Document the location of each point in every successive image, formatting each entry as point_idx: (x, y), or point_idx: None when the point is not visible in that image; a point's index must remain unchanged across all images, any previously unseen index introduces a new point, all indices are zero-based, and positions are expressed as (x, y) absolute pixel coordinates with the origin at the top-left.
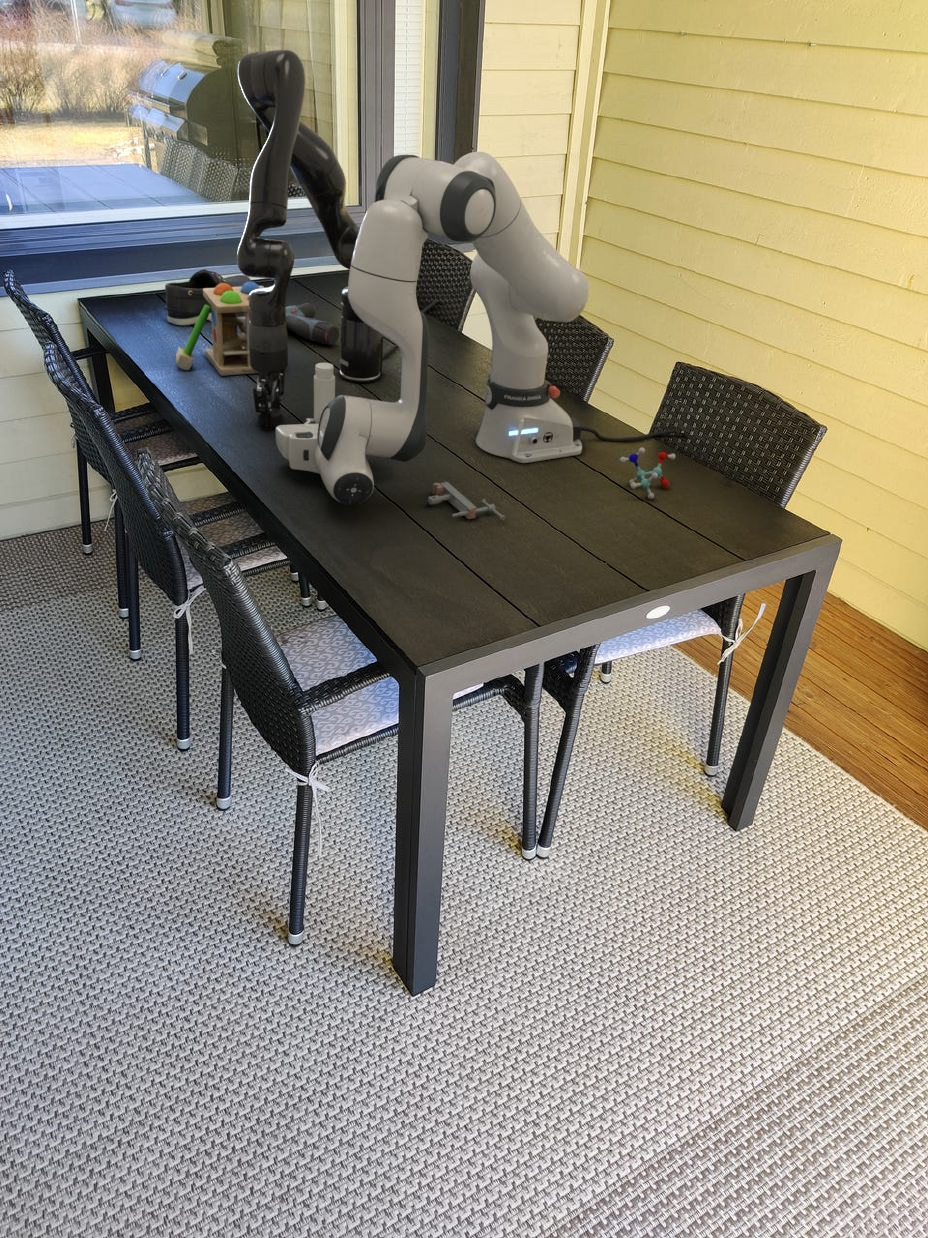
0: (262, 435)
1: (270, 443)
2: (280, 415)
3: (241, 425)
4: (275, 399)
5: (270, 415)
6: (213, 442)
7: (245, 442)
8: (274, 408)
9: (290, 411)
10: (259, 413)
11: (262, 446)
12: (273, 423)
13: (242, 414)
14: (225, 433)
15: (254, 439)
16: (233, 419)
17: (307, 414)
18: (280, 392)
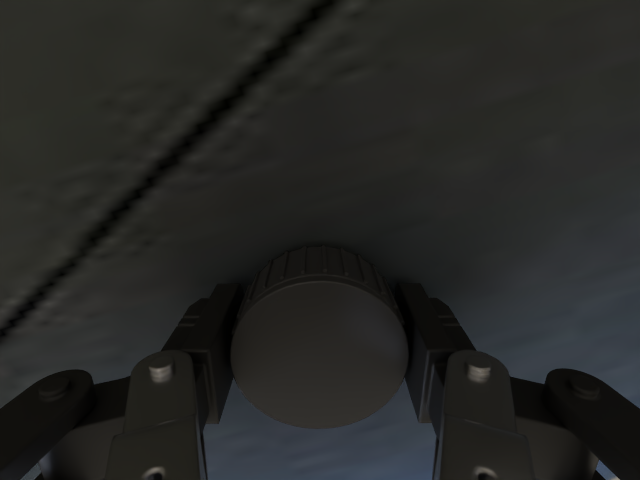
0: (476, 303)
1: (588, 229)
2: (338, 277)
3: (371, 425)
4: (199, 398)
5: (448, 340)
6: (597, 469)
7: (585, 354)
8: (251, 350)
9: (64, 255)
10: (375, 411)
11: (636, 259)
12: (388, 289)
13: (236, 455)
14: None
15: (539, 325)
16: (312, 471)
17: (43, 133)
18: (196, 427)
